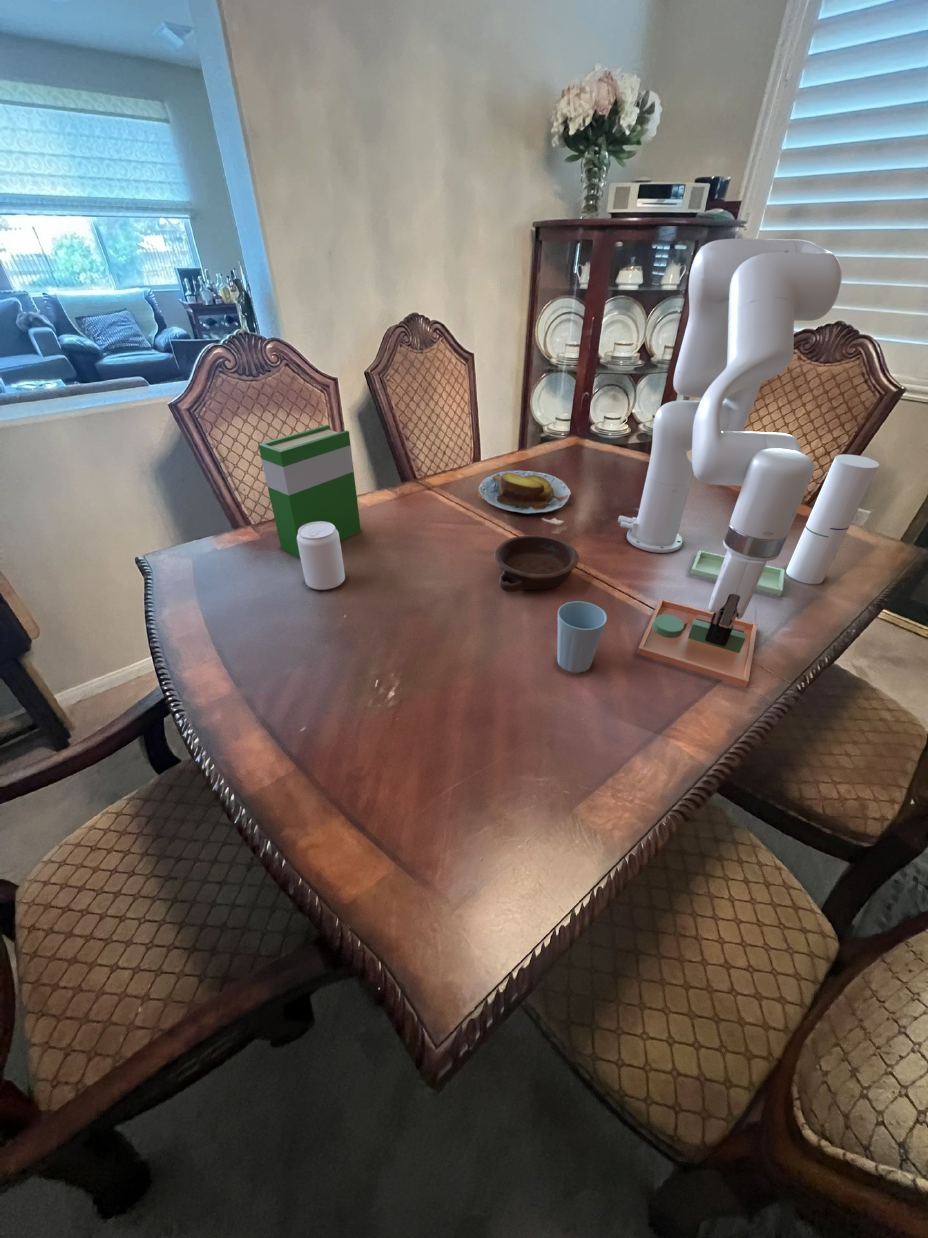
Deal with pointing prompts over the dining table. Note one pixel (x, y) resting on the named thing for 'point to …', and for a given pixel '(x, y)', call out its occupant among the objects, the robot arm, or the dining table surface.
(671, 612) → the terracotta cylinder and block
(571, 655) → the cup
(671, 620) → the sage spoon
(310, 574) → the beverage can
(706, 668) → the terracotta tray
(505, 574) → the dish
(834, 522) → the cylindrical container
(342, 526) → the hardback book
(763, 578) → the sage tray
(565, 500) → the food on plate
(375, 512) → the dining table surface
